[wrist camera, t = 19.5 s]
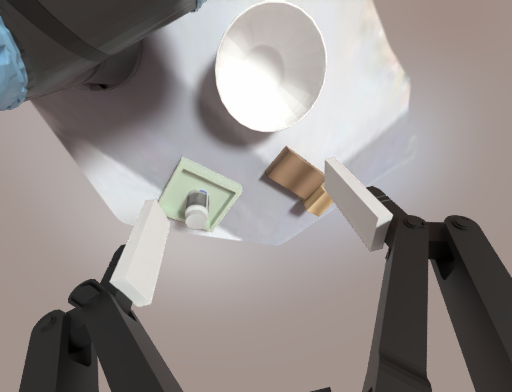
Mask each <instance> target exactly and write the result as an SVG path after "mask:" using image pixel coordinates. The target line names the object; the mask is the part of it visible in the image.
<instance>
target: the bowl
mask: <svg viewBox="0 0 512 392" xmlns="http://www.w3.org/2000/svg"><path fill="white" fill-rule="evenodd" d="M326 71H327V54H326V47H325V44H324V40H323V37H322V34H321V32H320V30H319V28H318V27H317V25H316V23H315V22H314V20H313V19H312V18H311V17H310V16H309V15H308V14H307V13H306V12H305V11H304V10H302V9H301V8H300V7H298V6H296V5H293V4H291V3H288V2H286V1H274V0H266V1H263V2H261V3H258V4H255V5H252V6H250V7H248V8H247V9H246V10H244V11H243V12H242V13H240V14H239V15H238V16H236V17H235V19H234V20H233V21H232V23H231V24H230V25H229V27H228V28H227V29H226V31H225V32H224V34H223V37H222V39H221V42H220V44H219V47H218V50H217V55H216V63H215V77H216V87H217V90H218V92H219V95H220V98H221V101H222V103H223V104H224V106H225V108H226V109H227V111H228V112H229V114H230V115H231V116H232V117H233V118H234V119H236V120H237V121H238V122H239V123H240V124H242V125H244V126H246V127H247V128H249V129H251V130H256V131H260V132H277V131H280V130H283V129H286V128H289V127H291V126H292V125H294V124H296V123H297V122H299V121H300V120H301V119H302V118H303V117H304V116H305V115H306V114H308V113H309V112H310V110H311V109H312V107H313V106H314V104H315V103H316V101H317V100H318V98H319V96H320V93H321V91H322V88H323V86H324V82H325V77H326Z"/></svg>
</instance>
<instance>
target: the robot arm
mask: <svg viewBox="0 0 512 392" xmlns="http://www.w3.org/2000/svg"><path fill="white" fill-rule="evenodd" d="M206 1H207V0H0V111H4V110H10V109H13V108H16V107H18V106H19V105H20V104H21V103H22V102H25V101H28V100H31V99H34V98H37V97H40V96H43V95H46V94H49V93H53V92H56V91H59V90H62V89H65V88H68V87H72V86H73V87H77V88H81V89H85V90H92V91H103V90H109V89H113V88H116V87H118V86H120V85H122V84H124V83H126V82H127V81H128V80H130V79H131V78H132V77H133V75H134V74H135V72H136V71H137V69H138V67H139V64H140V61H141V57H142V39H144V38H145V37H147V36H149V35H151V34H152V33H154V32H156V31H157V30H159V29H161V28H163V27H164V26H166V25H168V24H170V23H171V22H173V21H175V20H177V19H178V18H180V17H182V16H184V15H185V14H187V13H189V12H196V11H198V9H199V8H201V6H202V4H203V3H204V2H206ZM324 189H325V190H326V192H327V193H328V194H329V196H330V197H331V199H332V200H333V201H334V203H335V204H336V205H337V207H338V208H339V210H340V211H341V212H342V214H343V215H344V216H345V218H346V219H347V221H348V222H349V223H350V225H351V226H352V228H353V229H354V230H355V232H356V233H357V234H358V236H359V237H360V239H361V240H362V241H363V243H364V244H365V246H366V247H367V248H368V250H369V251H370V252H371V251H375V250H379V249H382V248H383V245H384V242H385V243H386V244H387V245H388V247H389V249H388V252H387V255H386V265H385V271H384V276H383V282H382V288H381V294H380V300H379V305H378V311H377V317H376V323H375V328H374V334H373V340H372V346H371V351H370V357H369V363H368V369H367V374H366V378H365V381H364V386H363V390H362V392H432V388H431V384H430V382H429V380H428V379H427V372H426V367H427V366H426V364H427V363H426V362H427V304H428V259H430V261H431V263H432V266H433V269H434V272H435V275H436V278H437V281H438V284H439V287H440V290H441V293H442V295H443V298H444V301H445V304H446V307H447V310H448V313H449V315H450V319H451V321H452V324H453V327H454V330H455V333H456V336H457V339H458V342H459V345H460V347H461V350H462V353H463V356H464V359H465V362H466V365H467V368H468V371H469V374H470V376H471V380H472V382H473V385H474V388H475V391H476V392H512V278H511V277H510V275H509V273H508V271H507V270H506V268H505V266H504V265H503V263H502V262H501V260H500V259H499V257H498V255H497V254H496V252H495V251H494V249H493V247H492V246H491V244H490V243H489V241H488V239H487V238H486V236H485V235H484V233H483V231H482V230H481V228H480V227H479V225H478V224H477V223H476V222H474V221H473V220H471V219H469V218H466V217H463V216H457V215H452V216H448V217H447V218H446V219H445V220H444V222H426V221H424V220H423V219H421V218H420V217H417V216H412V215H407V214H406V213H405V212H404V211H403V210H402V209H401V208H400V207H399V206H398V205H396V204H395V203H394V202H393V201H392V200H390V198H389V197H388V196H386V195H385V194H384V193H383V192H382V191H381V190H380V189H378V188H376V187H373V186H371V187H366V188H365V187H364V186H363V185H362V184H361V183H360V182H359V181H358V180H357V179H356V178H355V177H354V176H353V175H352V174H351V173H350V172H349V171H348V170H347V169H346V168H345V167H344V166H343V165H342V164H341V163H340V162H339V161H338V160H337V159H336V158H335V157H333V158H329V159H325V175H324ZM170 225H171V224H170V222H169V220H168V219H167V217H166V215H165V214H164V212H163V210H162V209H161V207H160V205H159V204H158V202H157V200H156V199H152V200H147V201H145V203H144V205H143V207H142V210H141V212H140V214H139V217H138V219H137V221H136V223H135V226H134V228H133V230H132V232H131V235H130V237H129V239H128V241H127V244H125V245H121V246H120V247H119V248H118V250H117V251H116V252H115V253H114V255H113V258H112V261H111V262H110V264H109V267H108V268H107V270H106V272H105V274H104V277H103V279H102V281H101V283H99V282H98V281H96V280H95V279H90V280H87V281H84V282H83V283H81V284H80V285H78V286H77V287H76V288H75V289H74V290H73V291H72V293H71V294H70V296H69V298H68V303H70V304H71V305H73V306H74V307H76V308H74V309H72V310H70V311H68V312H66V313H65V312H63V311H61V310H54V311H52V312H49V313H48V314H46V315H45V316H44V317H42V318H41V319H40V320H39V321H38V322H37V324H36V325H35V326H34V328H33V330H32V333H31V337H30V341H29V346H28V351H27V356H26V360H25V366H24V370H23V375H22V379H21V384H20V389H19V392H99V389H98V388H99V387H98V361H97V356H98V358H99V361H100V363H101V366H102V369H103V371H104V374H105V376H106V379H107V382H108V384H109V387H110V389H111V392H183V390H182V389H181V387H180V386H179V384H178V382H177V381H176V379H175V378H174V376H173V375H172V373H171V371H170V370H169V368H168V367H167V365H166V363H165V362H164V360H163V358H162V357H161V355H160V353H159V352H158V350H157V349H156V347H155V346H154V344H153V343H152V341H151V339H150V337H149V336H148V334H147V333H146V331H145V330H144V328H143V326H142V325H141V323H140V321H139V320H138V318H137V317H136V315H135V313H134V312H133V311H132V310H131V305H132V302H133V303H134V304H135V305H136V306H137V307H140V306H144V305H148V304H151V301H152V297H153V293H154V289H155V285H156V281H157V277H158V273H159V269H160V265H161V261H162V257H163V253H164V249H165V245H166V241H167V237H168V233H169V229H170ZM311 392H331V389H330V387H328V388H324V389H320V390H316V391H311Z"/></svg>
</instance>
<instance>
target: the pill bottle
mask: <svg viewBox="0 0 512 392" xmlns="http://www.w3.org/2000/svg"><path fill="white" fill-rule="evenodd" d="M208 216H209V194H208V193H207V192H206V191H205V190H203V189H194V190H192V191H190V192H189V194H188V198H187V203H186V209H185V217H186V220H185V223H186V225H187V226H188V227H189V228H191V229H201V228H203V227H204V226H205V225H206V222H207V218H208Z"/></svg>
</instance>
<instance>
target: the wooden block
mask: <svg viewBox="0 0 512 392" xmlns="http://www.w3.org/2000/svg"><path fill="white" fill-rule="evenodd" d="M300 198H301V200H302V202H303V204H304V206H305V208H306V210H307V211H309V212H311V213H313V214H315V215H317V216H318V217H319V216H320V215H321V214H322V213H323V212H324V211H325V210H326V209H327V208H328V207H329V206H330V205H331V204H332V203H333V202H334V201H333V200H332V199H331V197H330V196H329V194H328V193H327V192H326V190H325V189H324V184H322V185H321V186H320V187H318V188H317V189H316V190H315V191H314V192H313V193H312V194H311V195H310V196H309V197H308V198H307V199H306V200H305V199H303V198H302V197H300Z"/></svg>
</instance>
